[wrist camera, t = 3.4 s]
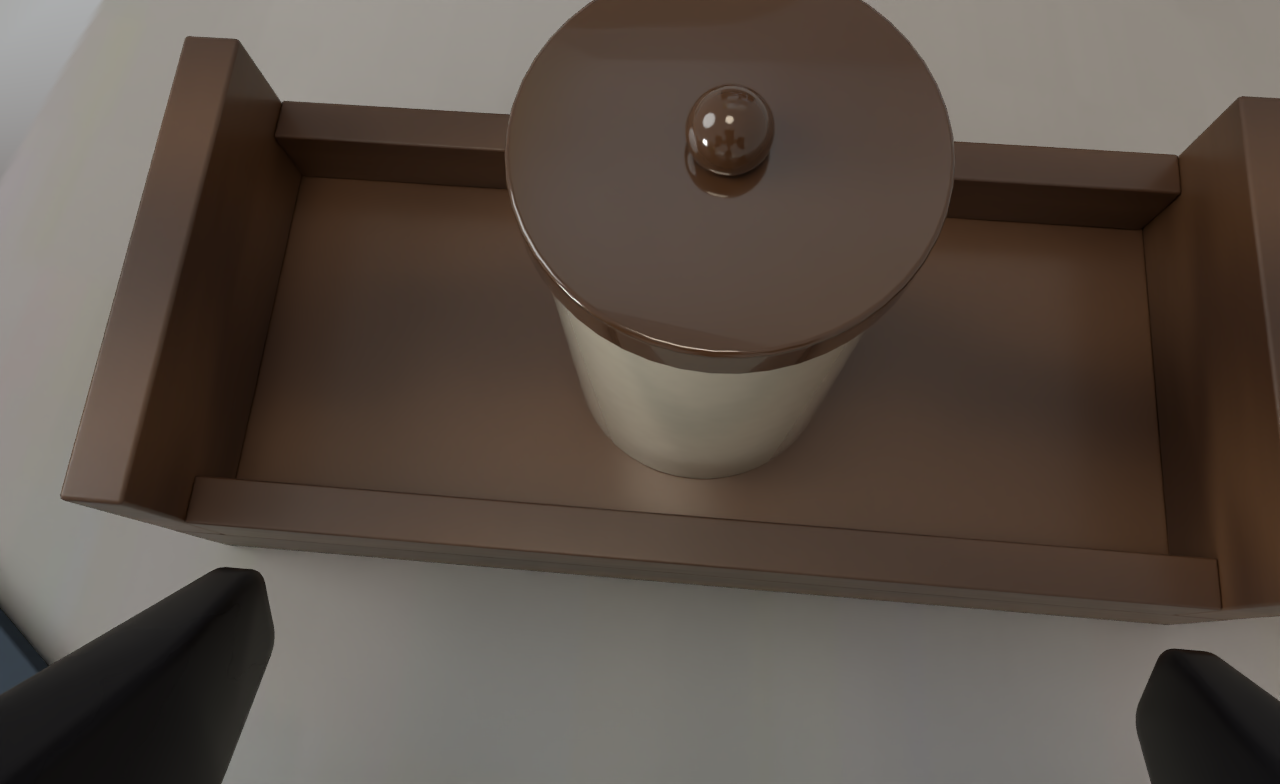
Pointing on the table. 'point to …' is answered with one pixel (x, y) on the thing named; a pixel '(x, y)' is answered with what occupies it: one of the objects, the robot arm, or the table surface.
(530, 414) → the brown wooden tray
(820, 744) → the table surface
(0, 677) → the mat
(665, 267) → the canister
